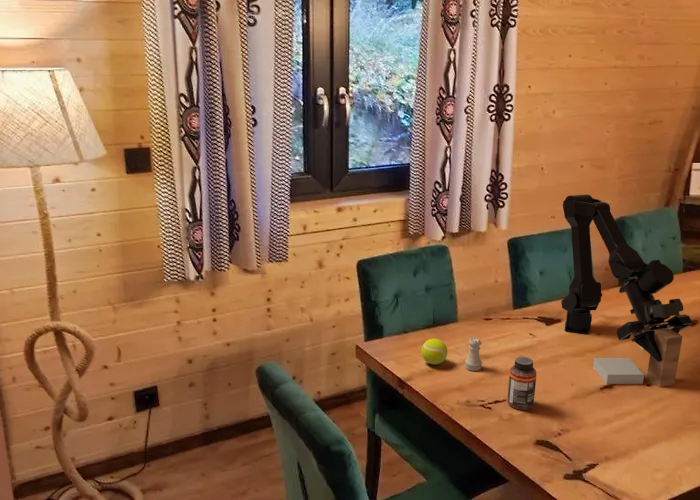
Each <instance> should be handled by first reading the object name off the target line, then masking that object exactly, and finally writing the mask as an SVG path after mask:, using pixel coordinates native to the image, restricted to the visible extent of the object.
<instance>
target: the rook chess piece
mask: <svg viewBox="0 0 700 500" xmlns="http://www.w3.org/2000/svg"><path fill="white" fill-rule="evenodd" d="M468 344H469V346H468V348H469V351H468V356H467V358H466V359H465V361H464V367H465V369H467V371H468V370H469V371H472V372H477V371H480V370H481V369H482V368H483V366H482V364H483V362H482V360H481V358H480V350H481V347H480V346H481V345H482V341H481V338H479V337H476V336H473V337H470V339H469V341H468Z"/></svg>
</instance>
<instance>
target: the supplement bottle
mask: <svg viewBox="0 0 700 500" xmlns="http://www.w3.org/2000/svg"><path fill="white" fill-rule="evenodd" d="M536 383H537V370H536V369H535V368H534V360H533V359H532V358H530V357H528V356H522V355H521V356H517V357H516V358H515V360H514V365H512V366H511V367H510V369H509V378H508V388H507V389H508V390H507V403H508V406H510V407H511V408H513V409H517V410H519V411H526V410H529V409H532V408H533V407H534V405H535V394H536V385H537V384H536Z"/></svg>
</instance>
